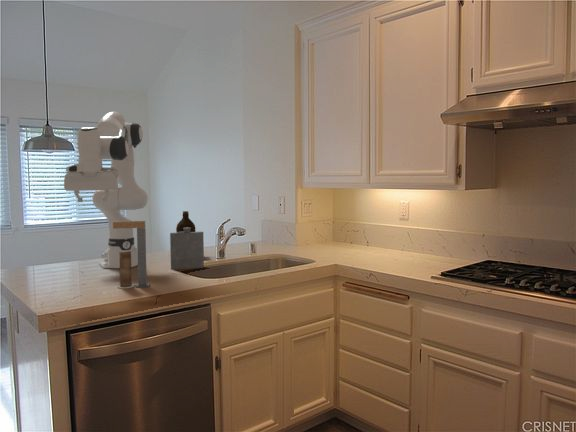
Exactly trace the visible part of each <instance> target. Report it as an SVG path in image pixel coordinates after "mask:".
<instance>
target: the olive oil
mask: <svg viewBox="0 0 576 432" xmlns="http://www.w3.org/2000/svg"><path fill="white" fill-rule="evenodd" d="M186 227H189V228H191V229H190V232H196V225H195V223H194V222H193V221H192V220H191V219H190V217H189V210H188V211H186V210H182V218H181V219H180V220H179V222H177V224H176V228H175V233H177V232H184V230H183V228H186Z"/></svg>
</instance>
